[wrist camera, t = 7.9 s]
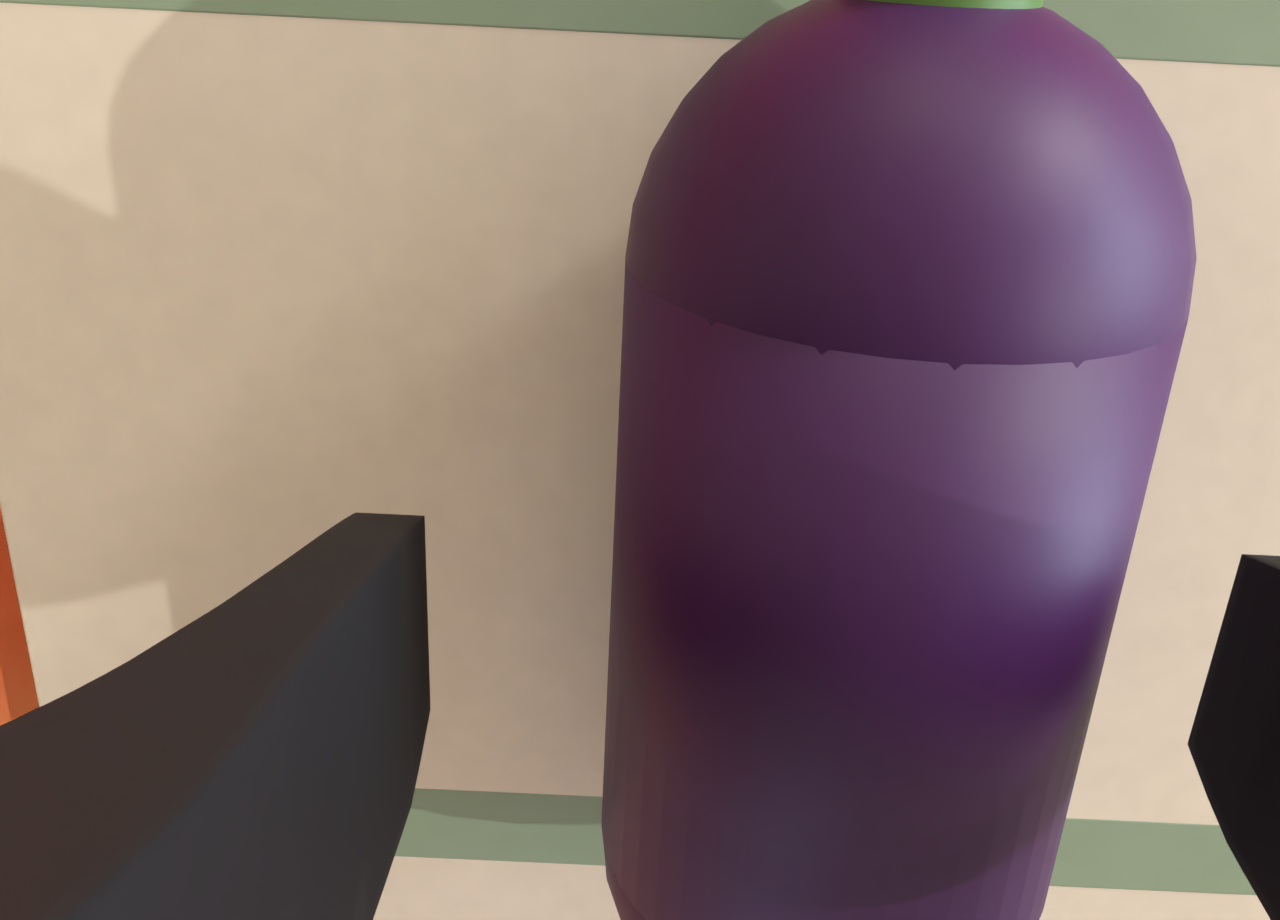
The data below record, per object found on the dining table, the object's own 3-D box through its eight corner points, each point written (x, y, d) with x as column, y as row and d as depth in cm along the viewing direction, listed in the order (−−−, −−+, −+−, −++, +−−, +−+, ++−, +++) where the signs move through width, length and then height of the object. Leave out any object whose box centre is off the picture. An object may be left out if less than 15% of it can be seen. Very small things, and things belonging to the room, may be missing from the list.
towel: (90, 889, 17) (77, 911, 16) (-129, -285, 11) (-158, -292, 11) (1378, 947, 17) (1394, 971, 17) (1836, -184, 11) (1877, -186, 11)
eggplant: (914, 828, 16) (1087, 1147, 12) (571, 859, 15) (631, 1211, 11) (1093, -178, 11) (1492, -220, 7) (602, -212, 10) (732, -284, 6)
